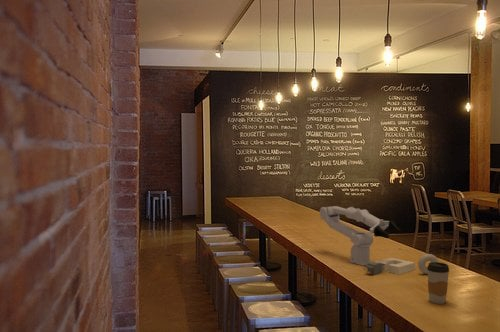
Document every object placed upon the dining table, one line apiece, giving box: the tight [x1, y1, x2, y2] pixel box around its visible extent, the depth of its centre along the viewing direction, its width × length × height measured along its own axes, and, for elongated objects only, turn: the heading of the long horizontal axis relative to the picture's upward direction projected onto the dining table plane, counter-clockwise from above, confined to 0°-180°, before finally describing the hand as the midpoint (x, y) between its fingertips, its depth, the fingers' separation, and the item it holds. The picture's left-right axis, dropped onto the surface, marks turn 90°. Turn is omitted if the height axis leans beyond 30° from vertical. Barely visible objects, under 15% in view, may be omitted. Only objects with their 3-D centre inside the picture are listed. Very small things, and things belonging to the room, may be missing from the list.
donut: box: [417, 253, 440, 275], centre depth 247 cm, size 10×4×10 cm, turn 91°
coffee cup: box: [427, 261, 450, 305], centre depth 206 cm, size 8×8×15 cm
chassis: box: [377, 257, 416, 275], centre depth 257 cm, size 14×14×4 cm
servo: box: [364, 260, 385, 276], centre depth 249 cm, size 4×11×6 cm, turn 131°
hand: (394, 234), depth 251 cm, fingers open, 7 cm apart
